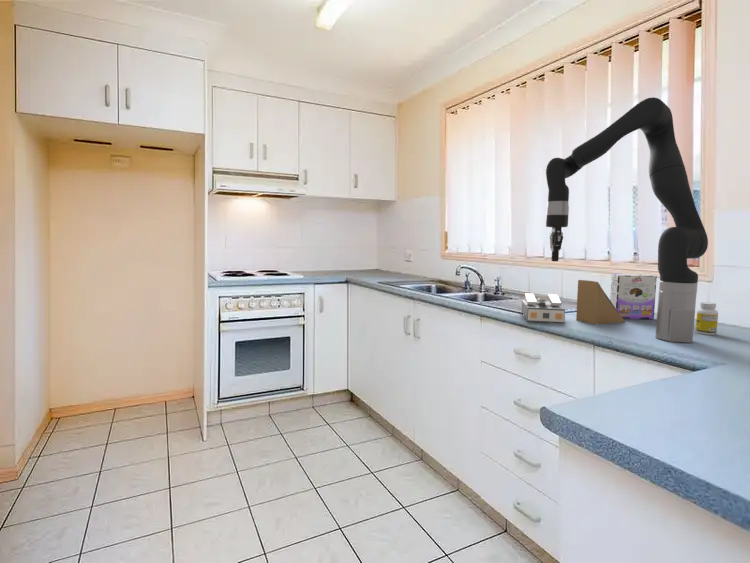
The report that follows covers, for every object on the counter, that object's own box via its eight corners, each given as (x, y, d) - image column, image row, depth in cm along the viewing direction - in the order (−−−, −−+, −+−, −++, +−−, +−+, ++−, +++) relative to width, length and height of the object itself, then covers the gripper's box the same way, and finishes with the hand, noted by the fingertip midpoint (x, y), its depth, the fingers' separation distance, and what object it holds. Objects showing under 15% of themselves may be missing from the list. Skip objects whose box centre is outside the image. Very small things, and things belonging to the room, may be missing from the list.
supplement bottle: (695, 330, 145) (698, 301, 144) (716, 333, 142) (719, 302, 141) (694, 333, 141) (697, 302, 140) (716, 336, 137) (719, 304, 136)
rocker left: (536, 305, 160) (536, 301, 160) (527, 304, 161) (527, 301, 161) (533, 296, 169) (533, 293, 168) (524, 296, 169) (524, 293, 169)
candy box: (646, 316, 170) (649, 274, 168) (654, 319, 164) (657, 275, 162) (608, 315, 171) (611, 273, 169) (615, 318, 165) (618, 274, 163)
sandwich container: (626, 322, 159) (629, 280, 158) (595, 324, 154) (598, 281, 152) (606, 317, 167) (608, 278, 166) (575, 320, 162) (578, 279, 160)
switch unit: (564, 323, 154) (565, 307, 153) (527, 321, 157) (528, 305, 156) (554, 314, 172) (555, 299, 171) (521, 312, 175) (522, 298, 174)
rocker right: (561, 306, 159) (561, 302, 158) (551, 305, 159) (552, 302, 159) (556, 297, 167) (557, 294, 167) (547, 297, 168) (548, 294, 167)
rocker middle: (549, 300, 159) (549, 297, 159) (539, 300, 160) (539, 296, 160) (544, 302, 168) (544, 298, 168) (535, 301, 169) (536, 298, 169)
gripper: (572, 213, 156) (569, 262, 158) (564, 215, 169) (561, 260, 171) (549, 213, 157) (547, 262, 159) (543, 215, 170) (541, 260, 172)
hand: (554, 261), depth 165 cm, fingers closed
